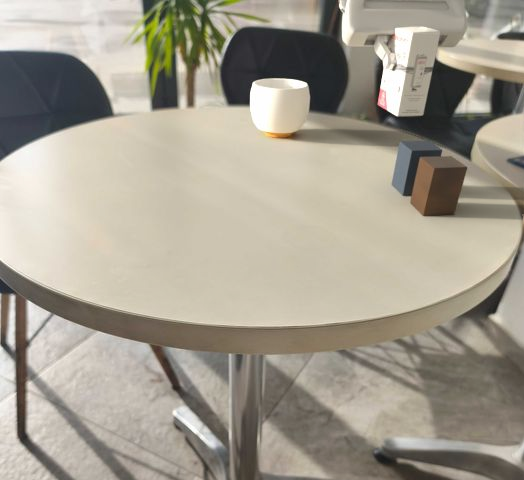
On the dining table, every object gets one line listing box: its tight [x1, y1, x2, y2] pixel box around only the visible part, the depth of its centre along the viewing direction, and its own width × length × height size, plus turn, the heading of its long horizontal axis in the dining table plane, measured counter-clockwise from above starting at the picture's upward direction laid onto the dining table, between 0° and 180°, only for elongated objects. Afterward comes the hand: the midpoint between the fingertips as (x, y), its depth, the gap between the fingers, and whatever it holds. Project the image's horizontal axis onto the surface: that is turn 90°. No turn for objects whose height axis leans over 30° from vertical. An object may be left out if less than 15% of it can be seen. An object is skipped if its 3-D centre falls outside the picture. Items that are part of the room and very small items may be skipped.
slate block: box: [391, 140, 443, 197], centre depth 79 cm, size 5×5×7 cm
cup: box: [249, 77, 311, 139], centre depth 102 cm, size 12×12×10 cm
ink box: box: [377, 26, 440, 117], centre depth 80 cm, size 9×5×12 cm, turn 12°
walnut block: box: [409, 155, 468, 217], centre depth 73 cm, size 5×5×7 cm
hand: (409, 67), depth 79 cm, fingers closed on ink box, 5 cm apart
